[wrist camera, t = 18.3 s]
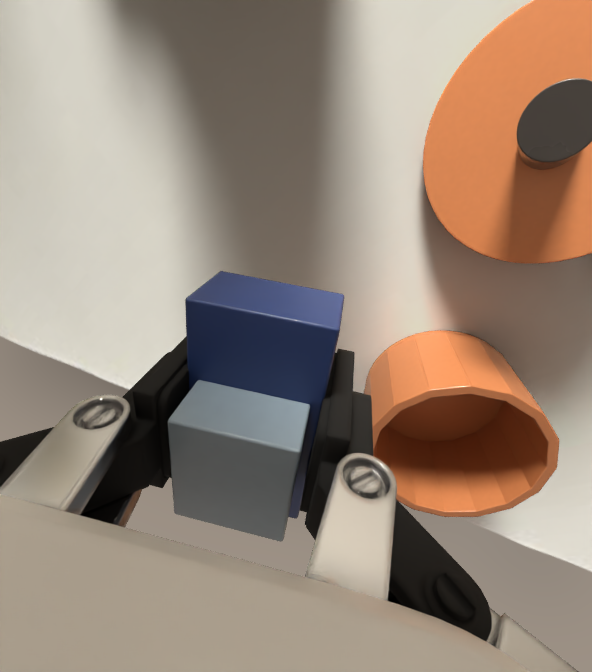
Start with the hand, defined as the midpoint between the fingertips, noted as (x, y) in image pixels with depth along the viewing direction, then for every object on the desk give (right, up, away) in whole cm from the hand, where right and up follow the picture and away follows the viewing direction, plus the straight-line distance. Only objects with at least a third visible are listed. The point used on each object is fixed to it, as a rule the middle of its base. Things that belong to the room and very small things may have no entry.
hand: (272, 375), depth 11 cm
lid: (+14, +12, +6) cm, 19 cm away
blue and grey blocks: (0, 0, 0) cm, 0 cm away
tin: (+13, -3, +17) cm, 22 cm away
